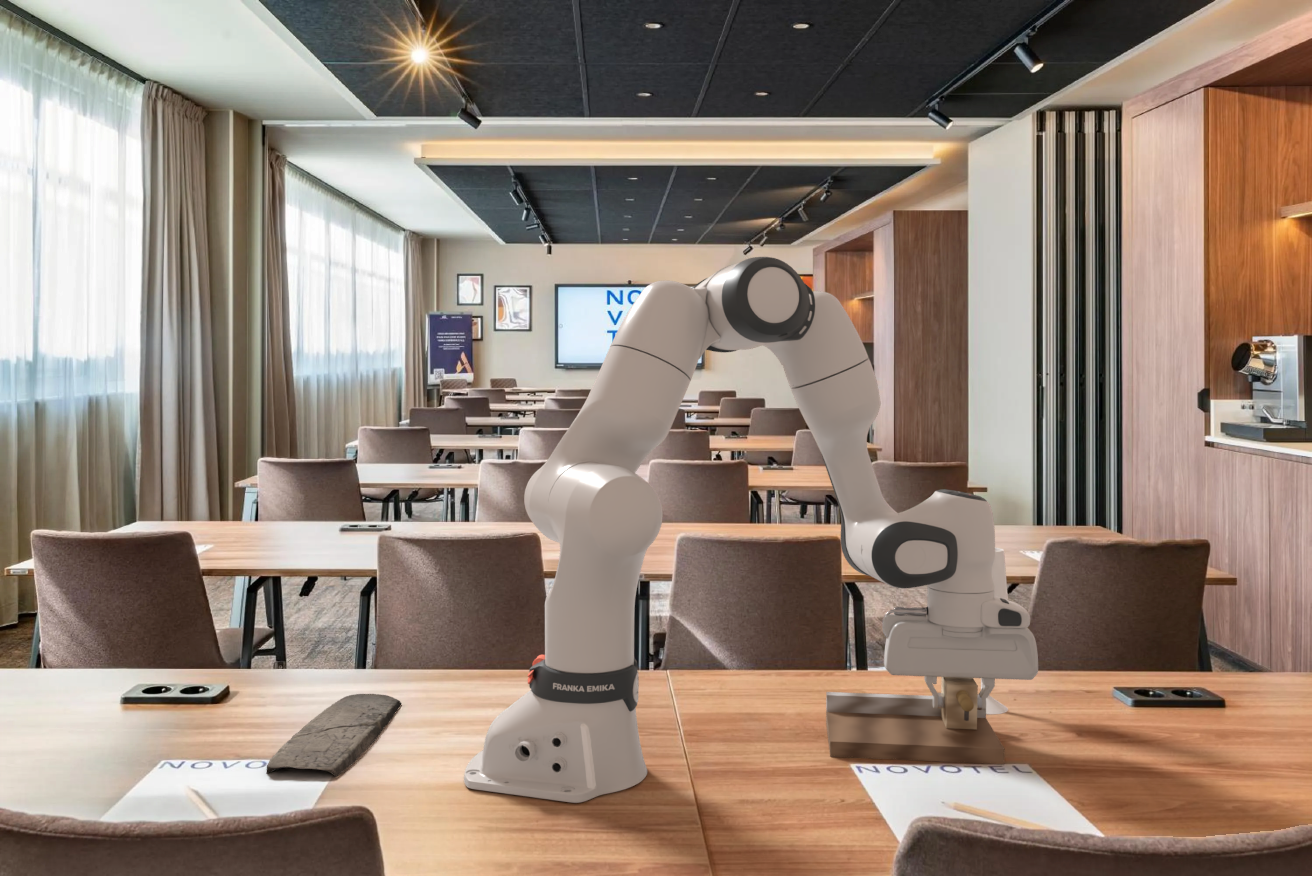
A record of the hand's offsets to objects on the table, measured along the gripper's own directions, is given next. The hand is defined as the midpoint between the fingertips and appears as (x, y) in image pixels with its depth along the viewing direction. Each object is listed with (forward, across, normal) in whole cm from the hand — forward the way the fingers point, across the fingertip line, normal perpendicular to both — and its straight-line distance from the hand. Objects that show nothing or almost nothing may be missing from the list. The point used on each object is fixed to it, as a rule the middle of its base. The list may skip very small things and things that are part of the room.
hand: (958, 708), depth 142 cm
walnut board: (+4, -7, -2) cm, 8 cm away
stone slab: (+5, -84, -10) cm, 85 cm away
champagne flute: (+4, +6, +14) cm, 16 cm away
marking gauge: (+2, 0, -2) cm, 3 cm away
